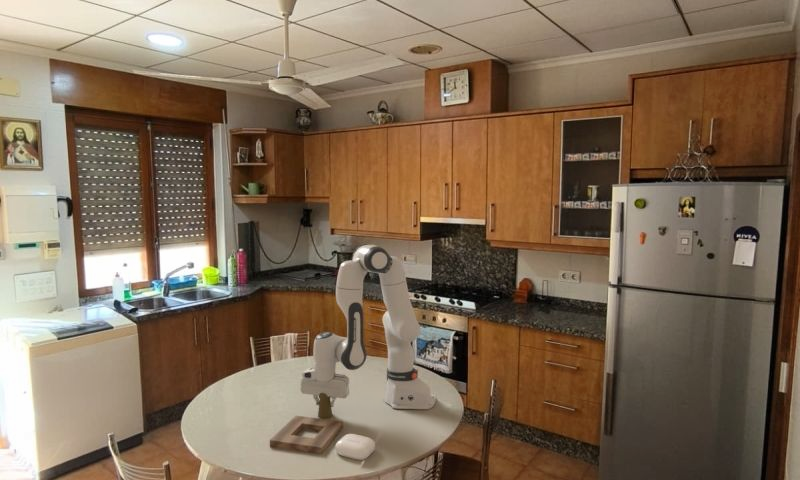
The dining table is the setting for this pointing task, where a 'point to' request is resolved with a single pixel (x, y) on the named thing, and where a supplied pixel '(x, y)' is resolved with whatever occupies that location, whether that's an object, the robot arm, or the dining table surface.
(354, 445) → the earbud case
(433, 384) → the dining table surface
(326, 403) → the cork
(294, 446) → the walnut dock
